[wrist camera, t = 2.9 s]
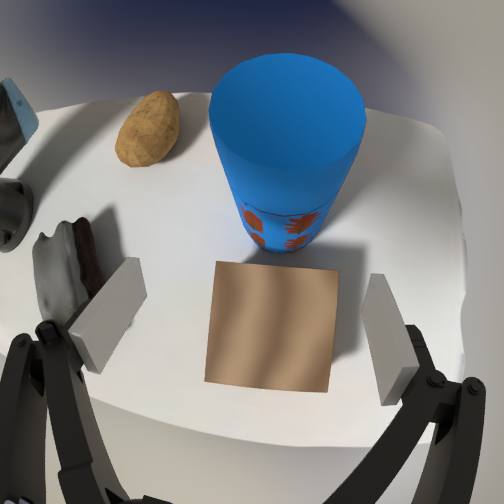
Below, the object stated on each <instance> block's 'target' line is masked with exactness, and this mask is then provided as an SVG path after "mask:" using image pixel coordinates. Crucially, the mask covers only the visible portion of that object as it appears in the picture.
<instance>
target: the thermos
mask: <svg viewBox="0 0 504 504" xmlns="http://www.w3.org/2000/svg"><path fill="white" fill-rule="evenodd" d="M209 120H210V127H211V131H212V134H213V138H214V141H215V145H216V148H217V151H218V154H219V157H220V160H221V163H222V165H223V168H224V171H225V174H226V177H227V180H228V182H229V185H230V188H231V191H232V194H233V197H234V200H235V202H236V205H237V208H238V211H239V214H240V217H241V219H242V222H243V225H244V227H245V229H246V231H247V233H248V234H249V235H250V237H251V238H252V239H253V241H254V242H255V243H256V244H257V245H259V246H260V247H262V248H263V249H265V250H266V251H270V252H274V253H279V254H282V253H290V252H294V251H296V250H298V249H300V248H302V247H304V246H305V245H306V244H307V243H308V242H309V241H310V240H311V239H312V238H313V237H314V235H315V234H316V233H317V232H318V230H319V228H320V226H321V225H322V223H323V221H324V219H325V217H326V215H327V213H328V211H329V209H330V207H331V205H332V203H333V201H334V199H335V197H336V195H337V193H338V192H339V189H340V188H341V186H342V184H343V182H344V180H345V178H346V175H347V173H348V171H349V169H350V167H351V165H352V163H353V161H354V159H355V157H356V155H357V152H358V149H359V146H360V143H361V140H362V137H363V133H364V128H365V124H366V114H365V107H364V102H363V98H362V97H361V95H360V93H359V92H358V90H357V89H356V87H355V86H354V84H353V82H352V81H351V80H350V79H349V78H347V77H346V76H345V75H344V74H343V73H341V72H340V71H339V70H338V69H336V68H335V67H334V66H332V65H329V64H327V63H325V62H323V61H320V60H318V59H316V58H313V57H309V56H304V55H297V54H291V53H281V54H269V55H262V56H259V57H256V58H253V59H250V60H247V61H245V62H242V63H241V64H239V65H238V66H236V67H235V68H233V69H232V70H231V71H229V72H228V73H226V74H225V75H224V76H223V77H222V79H221V80H220V82H219V83H218V85H217V86H216V87H215V89H214V90H213V92H212V96H211V101H210V107H209Z"/></svg>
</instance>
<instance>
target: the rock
mask: <svg viewBox="0 0 504 504" xmlns="http://www.w3.org/2000/svg"><path fill="white" fill-rule="evenodd" d="M32 256H33V266H34V278H35V285H36V291H37V299H38V305H39V309H40V312H41V316H42V319H43V321H45V320H49V319H52V320H55V321H57V323H58V325H59V327H60V329H62V328H63V326H64V325H65V324H66V322H67V321H68V320H69V319H70V317H71V316H73V314H74V312H75V311H77V309H78V307H79V306H80V305H81V304H82V303H83V302H85V301H86V300H88V299H93V298H94V297H95V296H96V294H97V293H98V292H99V291H100V290H101V288H102V287H103V286H104V285H105V284H106V283H105V280H104V277H103V274H102V272H101V270H100V268H99V265H98V261H97V257H96V253H95V243H94V239H93V234H92V231H91V227H90V223H89V222H88V220H87V219H86V218H84V217H81V218H79V219H77V221H76V222H74V223H70V222H68V221H61V222H60V223H59V224H58V226H57V228H56V231H55V233H54V235H53V236H52V237H47V236H45V234H44V233H43V232H41V233H40V234H39V238H38V239H37V241H36V242H35V244H34V246H33V250H32Z"/></svg>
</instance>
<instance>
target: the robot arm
mask: <svg viewBox="0 0 504 504" xmlns="http://www.w3.org/2000/svg"><path fill="white" fill-rule="evenodd" d="M38 126H39V120H38V117H37V116H36V114H35V112H34V111H33V109H32V107H31V106H30V104H29V103H28V101H27V100H26V98H25V97H24V95H23V94H22V93H21V91H20V90H19V88H18V87H17V86H16V84H15V83H14V82H13V80H12V79H10V78H9V77H7V78H5V79H4V80H2V81H1V83H0V175H1V173H2V172H3V171H4V169H5V168H6V167H7V166H8V164H9V163H10V162H11V161H12V160H13V158H14V157H15V156H16V155H17V154H18V153H19V151H20V150H21V149H22V148H23V147H24V146H25V145H26V144H27V143H28V140H29V139H30V138H31V137H32V135H33V134H34V133H35V132H36V130H37V129H38ZM32 210H33V196H32V192H31V189H30V187H29V186H28V185H27V184H25V183H24V182H22V181H20V180H18V179H10V178H0V252H3V253H6V252H9V251H11V250H13V249H14V248H15V247H16V246H17V245H18V244H19V243H20V242H21V240H22V239H23V237H24V235H25V233H26V231H27V229H28V226H29V223H30V220H31V216H32ZM146 297H147V293H146V288H145V284H144V279H143V274H142V270H141V265H140V260H139V258H134V257H128V258H127V259H126V260H125V261H124V262H123V264H122V265H121V266H120V267H119V268H118V269H117V270H116V272H115V273H114V274H113V275H112V276H111V278H110V279H109V280H108V281H107V282H106V284H105V285H104V286H103V287H102V288H101V290H100V291H99V292H98V293H97V294H96V296H95V297H94V298H93V299H88V300H86V301H85V302H83V303H82V304H81V305H80V306H79V307H78V309H77V311H75V312H74V314H73V316H71V317H70V319H69V320H68V321H67V322H66V324H65V325H64V326H63V328H62V329H60V327H59V325H58V323H57V321H55V320H52V319H49V320H45V321H43V322H41V323H40V324H39V325H38V326H37V327H36V329H35V333H36V335H37V337H38V339H39V341H33V340H32V339H31V337H30V335H29V334H27V333H22V334H19V335H17V336H16V337H15V338H14V339H13V340H12V342H11V345H10V348H9V352H8V355H7V358H6V362H5V366H4V369H3V373H2V377H1V381H0V504H46V484H45V437H46V419H47V407H48V409H49V415H50V421H51V426H52V431H53V435H54V440H55V445H56V449H57V453H58V457H59V461H60V465H61V470H60V471H59V472H58V479H59V483H60V486H61V489H62V493H63V495H64V499H65V502H66V504H172V503H170V502H167V501H163V500H159V499H156V498H153V497H149V496H146V495H144V496H143V499H132V500H130V498H129V496H128V495H127V493H126V492H125V490H124V489H123V488H122V486H121V484H120V483H119V480H118V478H117V476H116V474H115V471H114V469H113V466H112V464H111V461H110V459H109V456H108V453H107V451H106V449H105V446H104V443H103V440H102V437H101V434H100V431H99V428H98V425H97V422H96V419H95V416H94V413H93V409H92V406H91V402H90V399H89V395H88V391H87V387H86V384H85V380H84V376H83V372H82V370H81V367H82V366H83V364H84V365H85V367H86V368H87V370H88V371H89V372H93V373H96V374H99V375H100V374H101V372H102V370H103V369H104V367H105V365H106V363H107V362H108V360H109V358H110V356H111V355H112V353H113V351H114V349H115V348H116V346H117V344H118V343H119V341H120V339H121V338H122V336H123V334H124V333H125V331H126V329H127V328H128V326H129V324H130V323H131V321H132V319H133V318H134V316H135V315H136V313H137V311H138V310H139V308H140V307H141V305H142V303H143V302H144V300H145V299H146ZM361 314H362V318H363V322H364V327H365V331H366V335H367V339H368V343H369V348H370V352H371V357H372V361H373V366H374V371H375V376H376V381H377V386H378V391H379V396H380V402H381V406H388V405H397V403H398V402H399V400H400V399H402V403H403V405H402V407H401V408H400V410H399V411H398V413H397V414H396V416H395V417H394V419H393V420H392V422H391V423H390V424H389V426H388V427H387V429H386V430H385V431H384V433H383V434H382V435H381V437H380V438H379V439H378V441H377V442H376V443H375V445H374V446H373V447H372V449H371V450H370V451H369V452H368V454H367V455H366V456H365V457H364V459H363V460H362V461H361V462H360V463H359V465H358V466H357V467H356V468H355V469H354V470H353V472H352V473H351V474H350V475H349V476H348V477H347V478H346V480H345V481H344V482H343V483H342V484H341V485H340V486H339V487H338V488H337V489H336V490H335V492H333V493H332V495H331V496H330V497H329V498H328V499H327V500H326V501H325V502H324V503H323V504H375V502H376V501H377V500H378V499H379V498H380V496H381V495H382V494H383V492H384V491H385V490H386V489H387V487H388V486H389V485H390V483H391V482H392V480H393V479H394V478H395V476H396V475H397V473H398V472H399V470H400V469H401V467H402V466H403V465H404V463H405V461H406V460H407V459H408V457H409V455H410V454H411V452H412V450H413V449H414V447H415V446H416V444H417V443H418V441H419V439H420V437H421V436H422V434H423V432H424V431H425V429H426V427H427V425H428V423H429V422H432V423H436V425H435V429H434V433H433V437H432V441H431V445H430V449H429V452H428V456H427V459H426V463H425V466H424V469H423V472H422V475H421V478H420V481H419V484H418V487H417V490H416V492H415V495H414V498H413V500H412V503H411V504H469V503H470V498H471V495H472V491H473V486H474V481H475V477H476V473H477V467H478V462H479V456H480V449H481V442H482V434H483V426H484V415H485V399H486V398H485V397H486V389H485V386H484V384H483V383H482V382H481V381H480V380H479V379H477V378H475V377H468V378H466V379H465V380H464V381H463V383H462V384H461V383H456V382H451V381H448V380H447V378H446V377H445V375H444V374H443V373H441V372H440V371H438V370H436V369H435V366H434V364H433V361H432V358H431V356H430V353H429V351H428V348H427V345H426V343H425V341H424V338H423V336H422V333H421V331H420V330H419V329H418V328H417V327H416V326H415V325H405V324H404V321H403V319H402V316H401V314H400V311H399V309H398V306H397V304H396V301H395V299H394V296H393V294H392V292H391V289H390V287H389V285H388V282H387V280H386V278H385V275H384V274H372V273H371V276H370V280H369V284H368V288H367V292H366V296H365V300H364V303H363V307H362V311H361Z"/></svg>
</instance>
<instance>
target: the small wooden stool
mask: <svg viewBox="0 0 504 504" xmlns="http://www.w3.org/2000/svg"><path fill="white" fill-rule="evenodd" d="M338 280H339V271H333V270H320V269H307V268H295V267H282V266H270V265H258V264H246V263H234V262H223V261H216V267H215V276H214V285H213V294H212V304H211V314H210V324H209V334H208V345H207V356H206V368H205V380H204V381H205V382H211V383H218V384H225V385H233V386H241V387H250V388H260V389H271V390H284V391H299V392H324V393H327V392H328V385H329V377H330V369H331V361H332V352H333V343H334V333H335V322H336V310H337V296H338Z"/></svg>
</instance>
